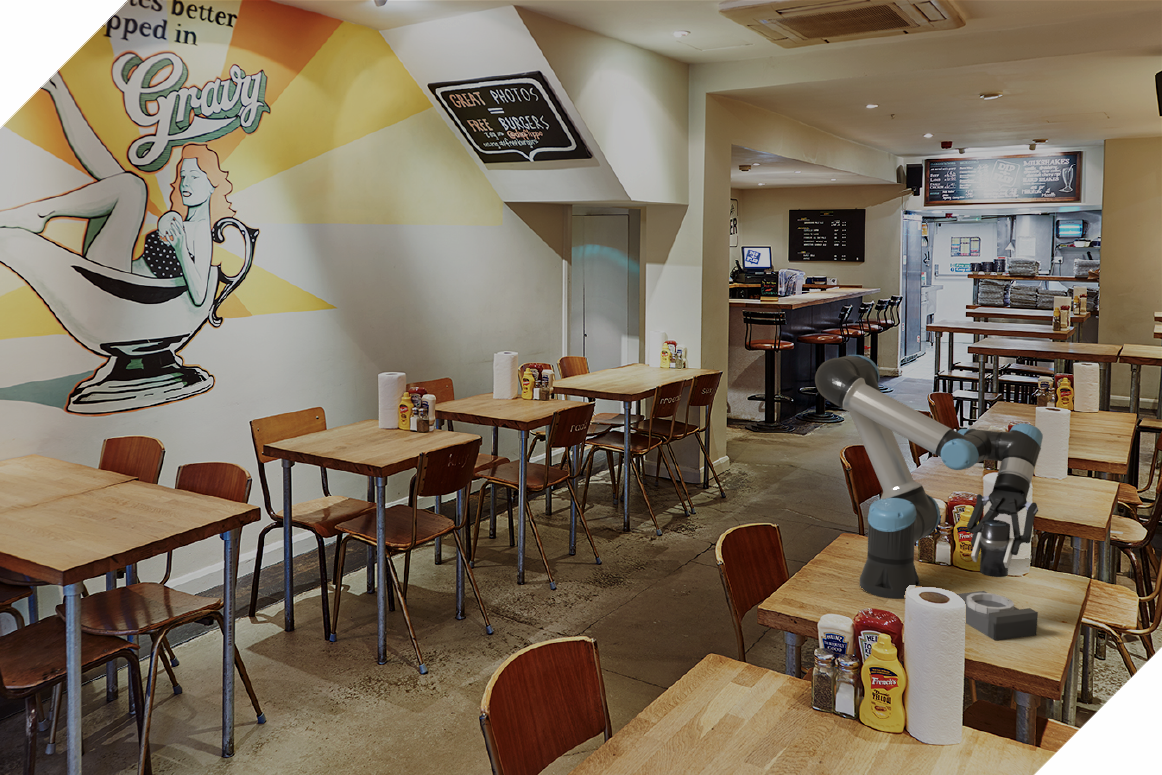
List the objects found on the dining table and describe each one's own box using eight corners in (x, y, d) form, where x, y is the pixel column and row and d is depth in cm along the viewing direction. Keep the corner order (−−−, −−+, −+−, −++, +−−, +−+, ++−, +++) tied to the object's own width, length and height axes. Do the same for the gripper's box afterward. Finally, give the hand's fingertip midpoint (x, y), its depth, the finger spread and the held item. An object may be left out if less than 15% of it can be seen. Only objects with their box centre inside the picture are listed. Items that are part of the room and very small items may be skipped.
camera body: (944, 610, 212) (945, 589, 211) (983, 606, 214) (984, 584, 213) (995, 640, 194) (996, 617, 194) (1036, 635, 197) (1037, 612, 196)
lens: (973, 569, 205) (975, 520, 203) (996, 567, 206) (998, 517, 204) (991, 578, 198) (993, 527, 197) (1015, 575, 200) (1017, 525, 198)
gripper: (1059, 495, 205) (1037, 579, 195) (975, 483, 218) (950, 561, 208) (1055, 477, 200) (1032, 562, 190) (969, 466, 213) (943, 545, 203)
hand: (989, 561), depth 199 cm, fingers closed on lens, 6 cm apart
